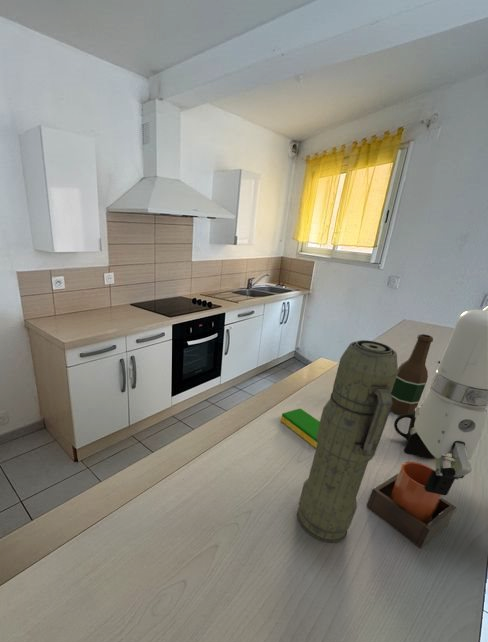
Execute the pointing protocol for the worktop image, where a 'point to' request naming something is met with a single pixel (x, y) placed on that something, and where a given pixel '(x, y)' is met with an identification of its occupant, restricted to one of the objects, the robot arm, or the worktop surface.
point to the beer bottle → (411, 378)
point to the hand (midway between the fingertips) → (422, 471)
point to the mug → (412, 416)
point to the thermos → (347, 438)
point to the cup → (415, 491)
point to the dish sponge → (302, 425)
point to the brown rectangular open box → (408, 514)
